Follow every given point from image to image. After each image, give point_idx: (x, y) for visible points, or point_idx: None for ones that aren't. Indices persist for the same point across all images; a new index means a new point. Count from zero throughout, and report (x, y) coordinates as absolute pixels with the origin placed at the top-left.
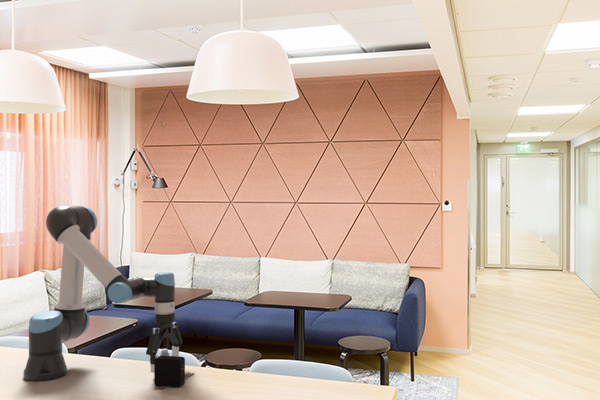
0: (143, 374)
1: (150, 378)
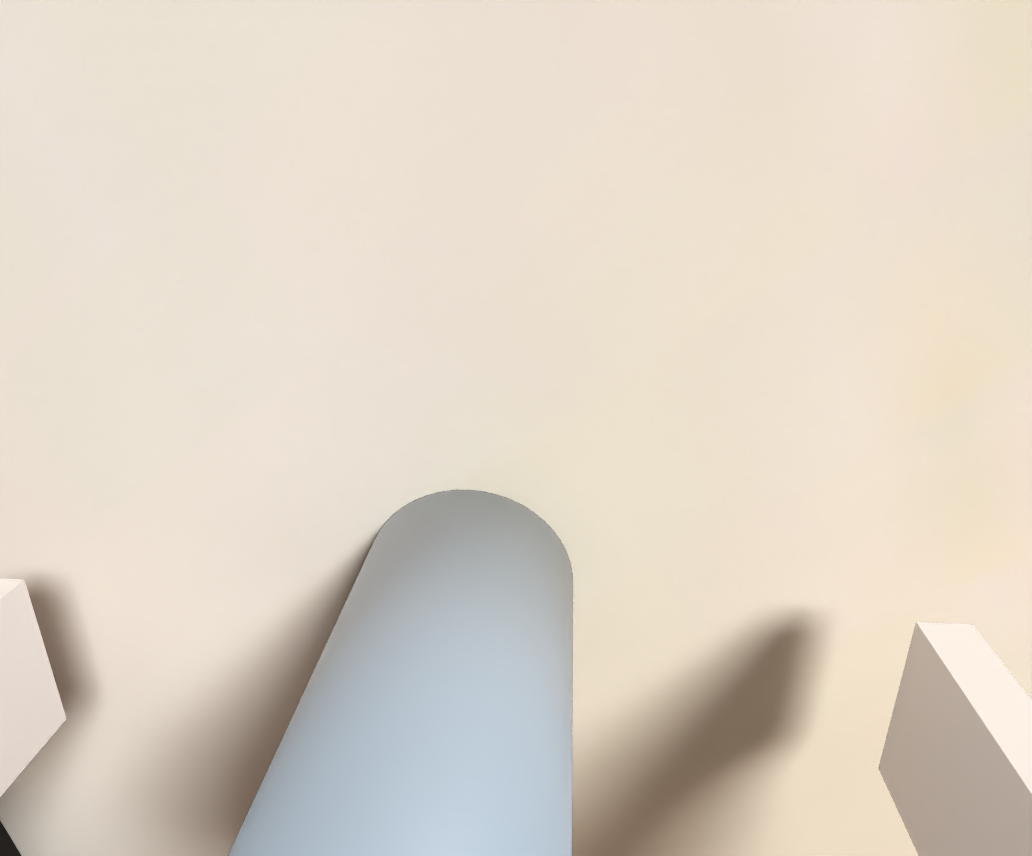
0: (137, 204)
1: (31, 531)
